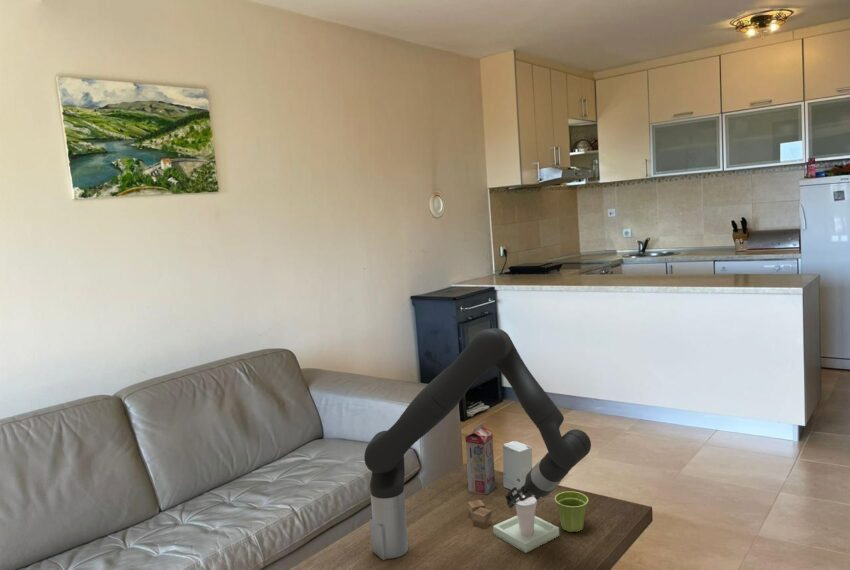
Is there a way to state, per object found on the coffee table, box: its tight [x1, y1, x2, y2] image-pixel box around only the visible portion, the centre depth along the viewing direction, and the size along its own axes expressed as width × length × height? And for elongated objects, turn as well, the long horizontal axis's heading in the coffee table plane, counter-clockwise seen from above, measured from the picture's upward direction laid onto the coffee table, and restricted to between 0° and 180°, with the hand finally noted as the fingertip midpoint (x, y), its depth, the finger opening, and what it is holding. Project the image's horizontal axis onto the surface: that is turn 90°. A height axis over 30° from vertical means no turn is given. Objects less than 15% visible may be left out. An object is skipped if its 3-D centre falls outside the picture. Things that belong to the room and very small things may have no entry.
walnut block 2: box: [472, 507, 493, 530], centre depth 186 cm, size 4×4×4 cm
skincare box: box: [502, 440, 533, 495], centre depth 207 cm, size 8×6×15 cm
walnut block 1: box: [467, 499, 486, 520], centre depth 191 cm, size 4×4×4 cm
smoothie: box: [514, 494, 538, 536], centre depth 177 cm, size 6×6×14 cm
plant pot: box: [554, 490, 589, 533], centre depth 181 cm, size 9×9×9 cm
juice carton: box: [465, 421, 496, 496], centre depth 208 cm, size 7×7×22 cm
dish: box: [492, 515, 560, 554], centre depth 178 cm, size 13×13×2 cm
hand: (522, 501), depth 178 cm, fingers open, 8 cm apart
